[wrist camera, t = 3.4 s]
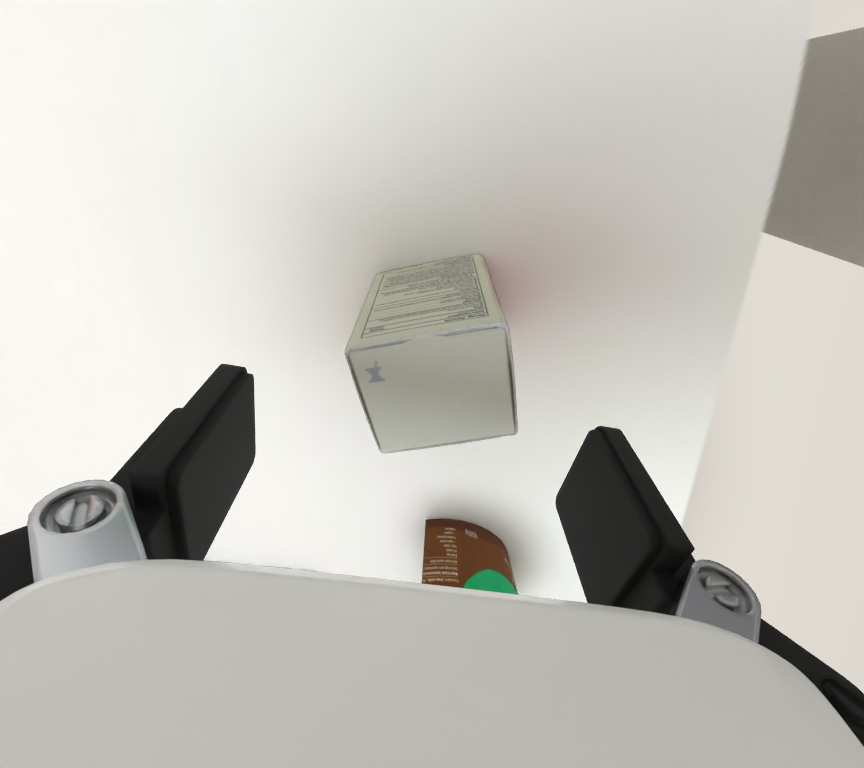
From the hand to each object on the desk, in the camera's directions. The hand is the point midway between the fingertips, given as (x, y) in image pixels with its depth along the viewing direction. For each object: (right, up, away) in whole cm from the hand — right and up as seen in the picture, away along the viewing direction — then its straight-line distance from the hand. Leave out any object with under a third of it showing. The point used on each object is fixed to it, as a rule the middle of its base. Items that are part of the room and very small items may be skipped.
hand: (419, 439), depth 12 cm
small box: (+1, +5, +8) cm, 10 cm away
